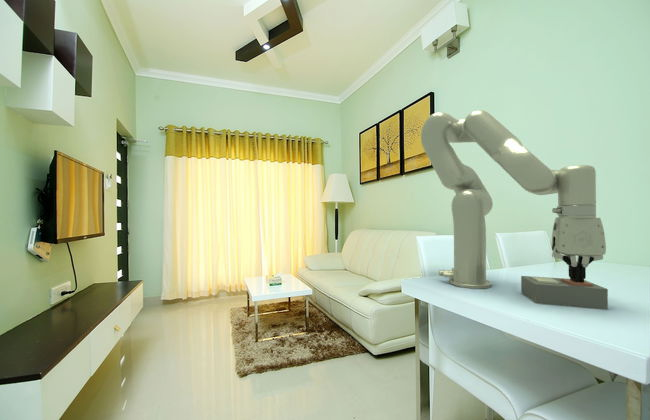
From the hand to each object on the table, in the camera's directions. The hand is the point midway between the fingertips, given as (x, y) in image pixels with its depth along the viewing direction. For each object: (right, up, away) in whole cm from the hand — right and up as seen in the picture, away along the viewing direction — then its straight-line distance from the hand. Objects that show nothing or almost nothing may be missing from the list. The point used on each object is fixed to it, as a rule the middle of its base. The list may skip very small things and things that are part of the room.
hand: (577, 281), depth 74 cm
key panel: (-4, -6, +1) cm, 7 cm away
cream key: (-7, -3, +2) cm, 8 cm away
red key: (0, -3, 0) cm, 3 cm away
